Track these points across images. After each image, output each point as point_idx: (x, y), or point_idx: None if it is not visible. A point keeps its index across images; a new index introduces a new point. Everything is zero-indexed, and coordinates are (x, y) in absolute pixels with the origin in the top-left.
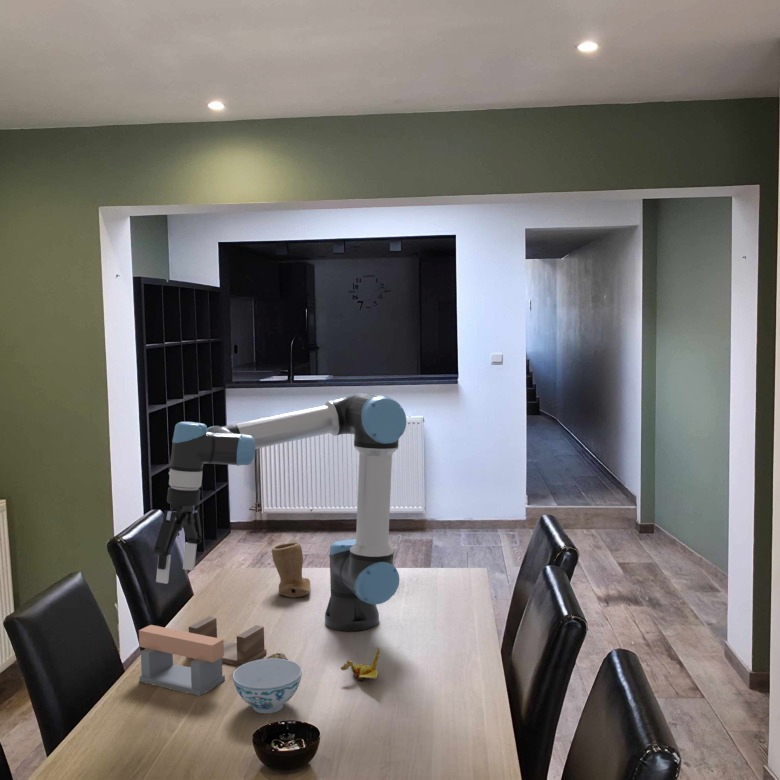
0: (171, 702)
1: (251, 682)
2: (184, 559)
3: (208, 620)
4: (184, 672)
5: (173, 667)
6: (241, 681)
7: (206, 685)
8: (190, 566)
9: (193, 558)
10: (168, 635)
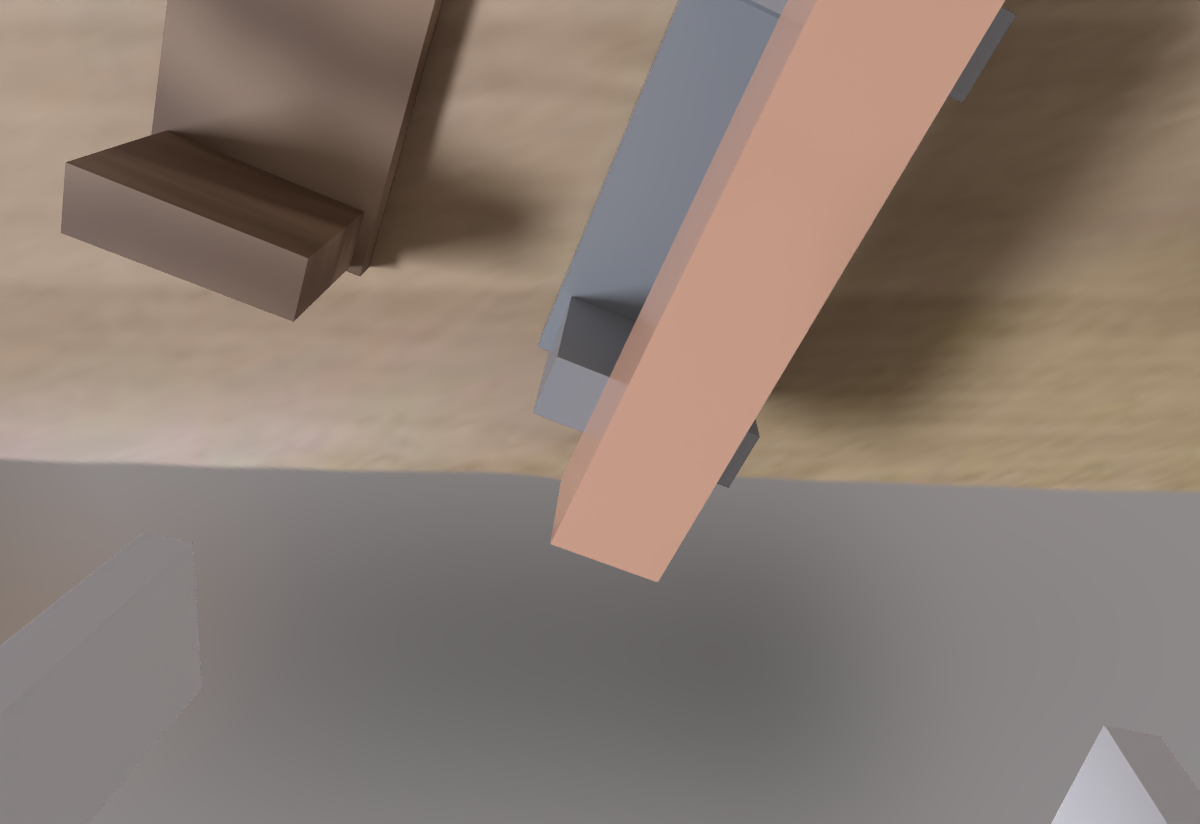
0: (1004, 162)
1: None
2: (90, 806)
3: (136, 211)
4: (677, 195)
5: (606, 282)
6: None
7: None
8: (157, 623)
9: (28, 700)
10: (765, 371)
